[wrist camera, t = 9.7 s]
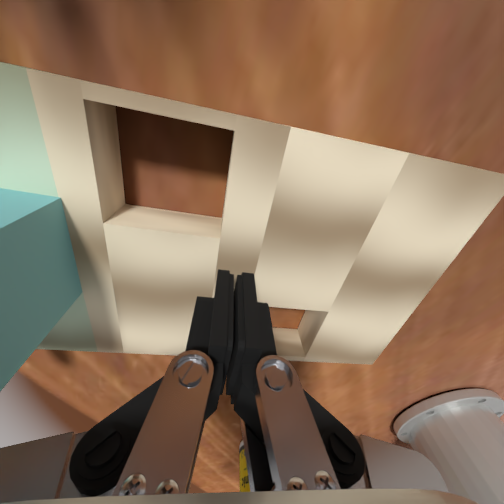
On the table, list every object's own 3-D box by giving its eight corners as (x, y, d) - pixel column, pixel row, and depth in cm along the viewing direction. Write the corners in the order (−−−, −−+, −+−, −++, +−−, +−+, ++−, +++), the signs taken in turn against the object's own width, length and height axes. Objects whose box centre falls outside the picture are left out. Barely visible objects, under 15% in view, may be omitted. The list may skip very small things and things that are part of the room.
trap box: (357, 337, 19) (396, 408, 15) (17, 314, 15) (-76, 403, 10) (469, 166, 12) (614, 199, 7) (-116, 35, 8) (-584, -65, 3)
